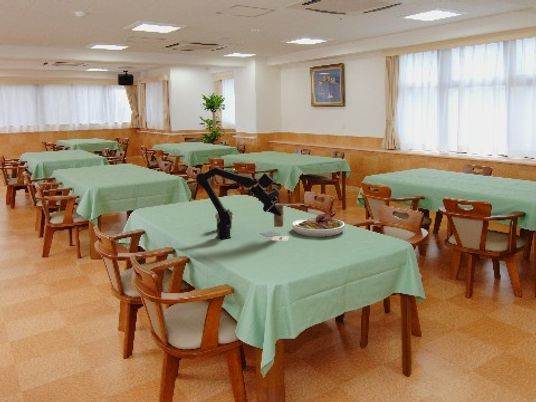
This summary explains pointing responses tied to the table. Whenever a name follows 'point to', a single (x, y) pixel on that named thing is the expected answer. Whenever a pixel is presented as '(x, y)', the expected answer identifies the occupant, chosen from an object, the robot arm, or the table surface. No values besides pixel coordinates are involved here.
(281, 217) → the walnut block
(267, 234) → the rest mat
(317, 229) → the bowl
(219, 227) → the robot arm
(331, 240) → the table surface
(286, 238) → the tile
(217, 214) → the food container
